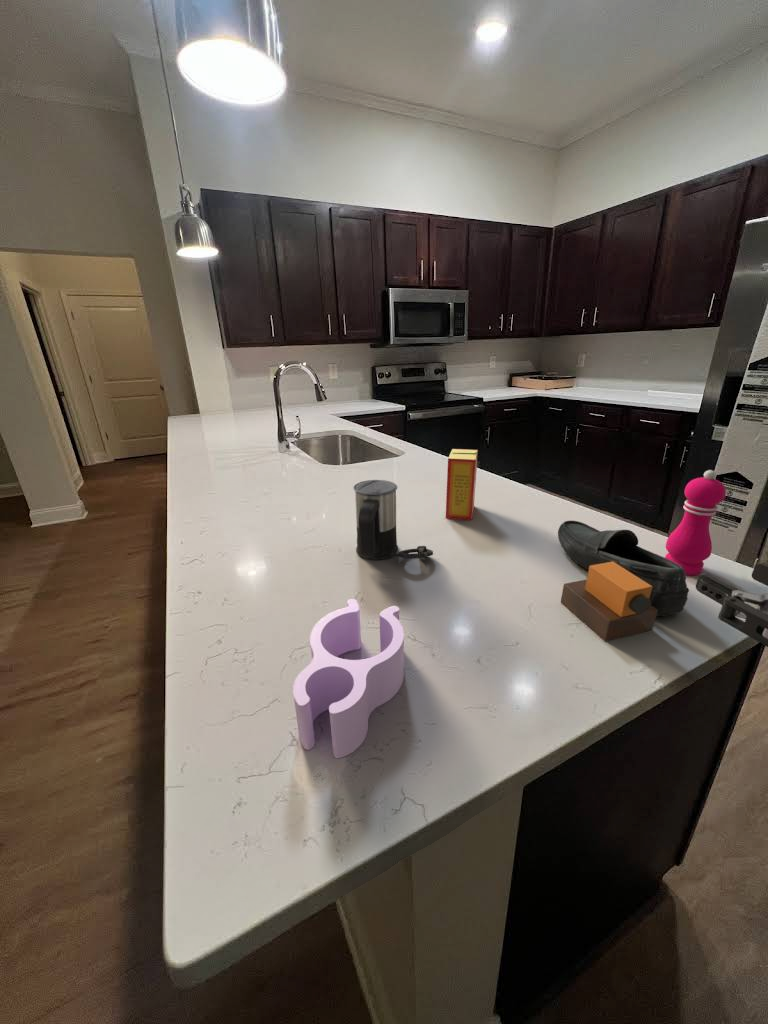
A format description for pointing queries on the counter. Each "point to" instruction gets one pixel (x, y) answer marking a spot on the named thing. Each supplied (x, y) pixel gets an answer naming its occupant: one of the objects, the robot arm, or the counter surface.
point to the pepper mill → (696, 524)
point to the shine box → (604, 614)
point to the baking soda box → (461, 483)
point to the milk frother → (379, 522)
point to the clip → (347, 677)
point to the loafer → (627, 562)
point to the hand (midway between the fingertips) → (728, 574)
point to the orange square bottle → (618, 589)
